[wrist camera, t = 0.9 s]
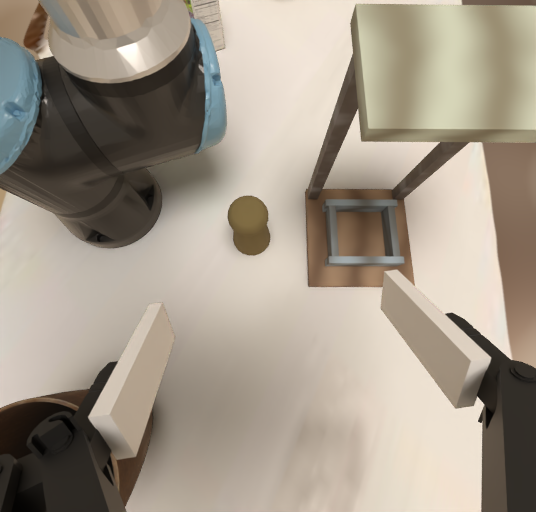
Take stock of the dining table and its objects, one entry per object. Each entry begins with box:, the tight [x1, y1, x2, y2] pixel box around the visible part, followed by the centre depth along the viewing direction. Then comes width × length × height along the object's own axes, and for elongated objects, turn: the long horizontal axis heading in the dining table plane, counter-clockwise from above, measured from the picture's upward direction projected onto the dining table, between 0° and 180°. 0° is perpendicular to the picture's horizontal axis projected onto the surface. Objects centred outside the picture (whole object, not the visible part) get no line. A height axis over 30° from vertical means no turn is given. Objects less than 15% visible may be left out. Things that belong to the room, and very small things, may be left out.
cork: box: [228, 196, 270, 255], centre depth 37 cm, size 6×6×11 cm
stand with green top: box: [305, 4, 536, 287], centre depth 30 cm, size 17×16×27 cm
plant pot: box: [0, 389, 153, 507], centre depth 29 cm, size 15×15×16 cm
